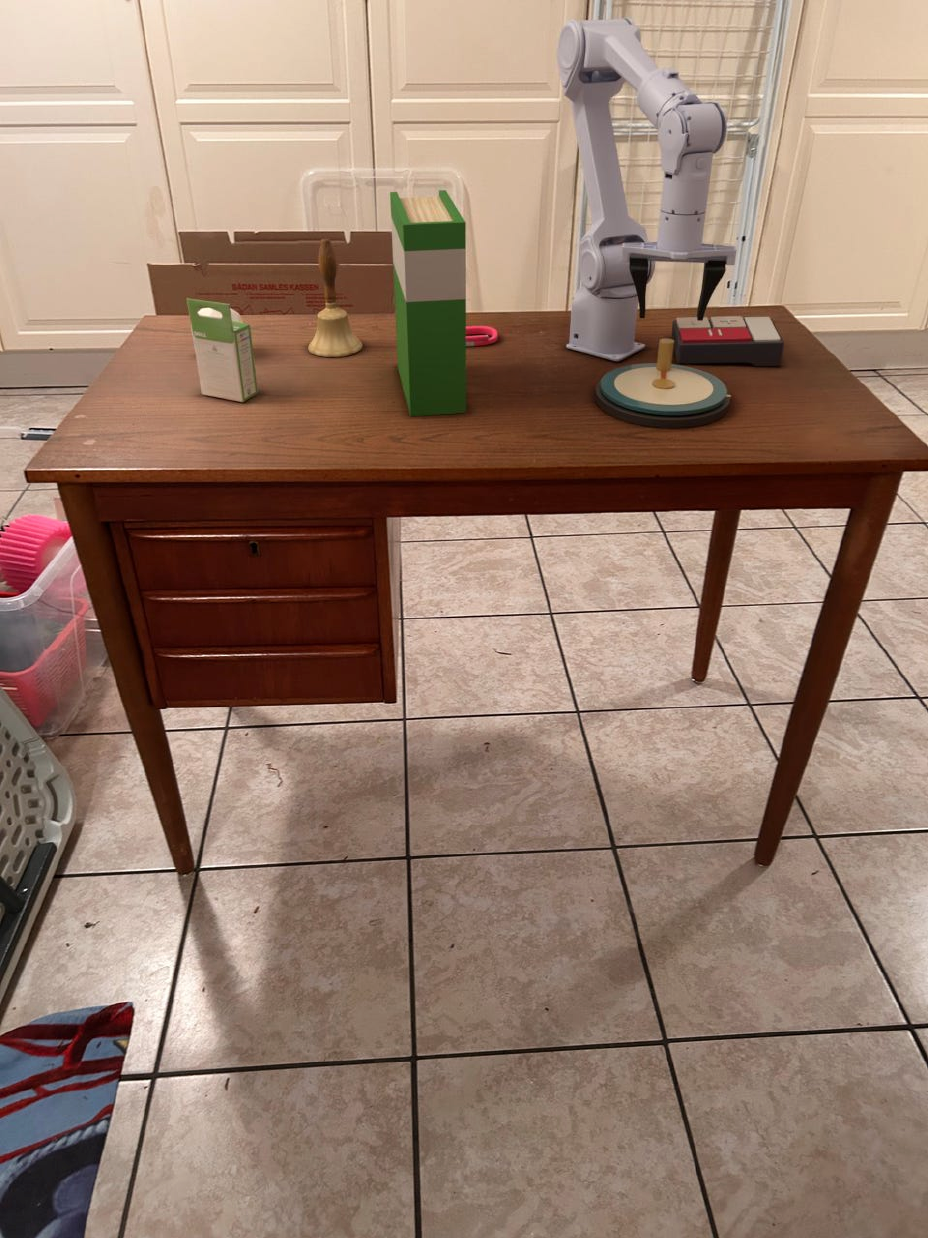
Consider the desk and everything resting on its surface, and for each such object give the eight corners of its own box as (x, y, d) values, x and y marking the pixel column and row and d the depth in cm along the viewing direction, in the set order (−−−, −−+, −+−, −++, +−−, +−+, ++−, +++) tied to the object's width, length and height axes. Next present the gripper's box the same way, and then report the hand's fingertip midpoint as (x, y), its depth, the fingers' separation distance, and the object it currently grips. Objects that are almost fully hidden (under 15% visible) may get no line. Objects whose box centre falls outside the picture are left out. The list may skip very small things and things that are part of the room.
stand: (569, 403, 129) (569, 395, 129) (638, 366, 141) (639, 357, 140) (687, 440, 120) (689, 431, 119) (752, 396, 131) (753, 387, 130)
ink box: (260, 393, 132) (247, 295, 125) (243, 404, 129) (228, 304, 122) (219, 385, 135) (203, 289, 127) (201, 395, 132) (184, 297, 124)
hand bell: (298, 353, 145) (286, 243, 136) (325, 335, 151) (315, 229, 142) (346, 360, 142) (338, 249, 133) (371, 342, 149) (365, 235, 139)
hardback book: (397, 367, 140) (390, 191, 126) (447, 364, 141) (445, 189, 127) (410, 416, 126) (403, 224, 112) (466, 412, 127) (465, 222, 113)
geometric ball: (220, 368, 148) (217, 316, 148) (258, 357, 143) (255, 304, 144) (181, 356, 141) (178, 303, 141) (220, 345, 137) (217, 290, 137)
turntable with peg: (729, 419, 122) (735, 384, 119) (597, 410, 124) (599, 375, 121) (723, 370, 135) (728, 338, 132) (603, 363, 137) (606, 331, 135)
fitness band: (448, 347, 147) (448, 338, 146) (443, 335, 152) (443, 325, 151) (500, 345, 148) (500, 335, 147) (494, 332, 152) (494, 322, 152)
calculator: (672, 315, 148) (772, 312, 146) (670, 342, 150) (768, 340, 149) (679, 339, 139) (785, 337, 137) (677, 368, 141) (781, 366, 140)
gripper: (624, 215, 119) (616, 324, 127) (744, 218, 118) (727, 328, 125) (625, 203, 125) (617, 308, 133) (739, 206, 123) (724, 312, 131)
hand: (670, 317), depth 130 cm, fingers open, 7 cm apart
